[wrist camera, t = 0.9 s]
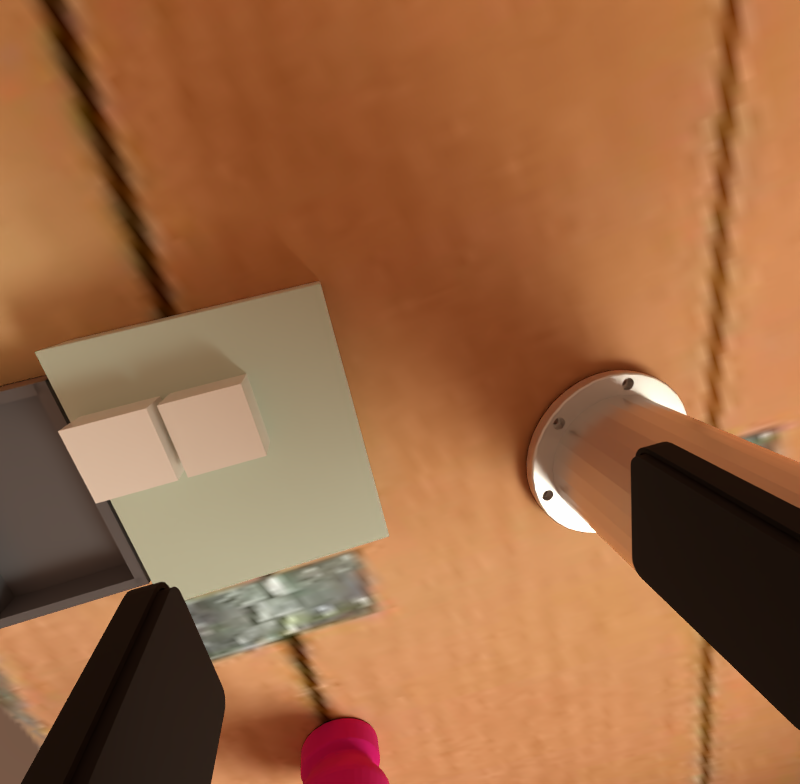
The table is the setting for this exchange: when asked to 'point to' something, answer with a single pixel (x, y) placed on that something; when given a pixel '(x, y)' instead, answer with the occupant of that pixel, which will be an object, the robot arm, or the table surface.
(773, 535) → the robot arm
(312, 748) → the pepper mill
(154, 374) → the beige flat slab
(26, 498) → the box
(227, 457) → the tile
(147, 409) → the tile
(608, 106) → the table surface
